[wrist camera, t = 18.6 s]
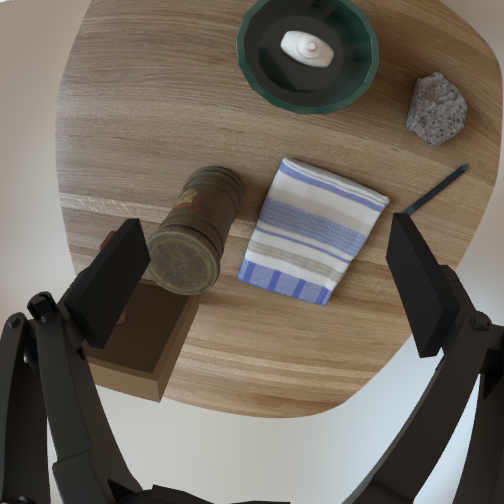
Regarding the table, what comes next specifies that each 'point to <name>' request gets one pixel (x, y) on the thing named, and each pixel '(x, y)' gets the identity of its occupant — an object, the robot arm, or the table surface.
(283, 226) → the dish towel
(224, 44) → the table surface
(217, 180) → the container
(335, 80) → the pot
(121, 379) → the photo frame
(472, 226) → the table surface
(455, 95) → the rock
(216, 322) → the table surface
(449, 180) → the pen
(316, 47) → the eye dropper bottle
